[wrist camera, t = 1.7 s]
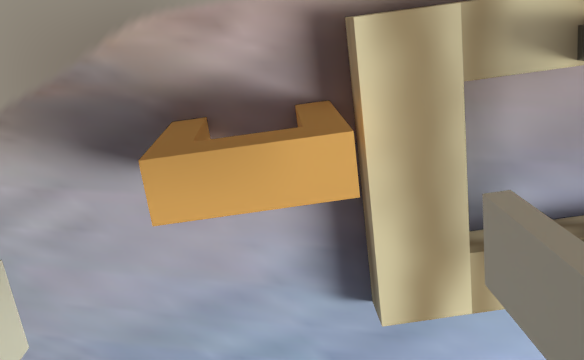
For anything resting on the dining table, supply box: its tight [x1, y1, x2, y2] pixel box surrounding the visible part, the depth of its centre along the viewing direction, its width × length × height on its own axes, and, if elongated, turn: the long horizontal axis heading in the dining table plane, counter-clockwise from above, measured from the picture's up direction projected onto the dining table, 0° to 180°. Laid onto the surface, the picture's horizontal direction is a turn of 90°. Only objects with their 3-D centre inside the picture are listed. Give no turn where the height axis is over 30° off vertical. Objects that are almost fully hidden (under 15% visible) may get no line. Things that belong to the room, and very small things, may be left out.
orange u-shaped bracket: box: [139, 100, 360, 226], centre depth 28 cm, size 9×3×9 cm, turn 97°
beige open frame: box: [345, 0, 584, 326], centre depth 32 cm, size 25×18×3 cm
